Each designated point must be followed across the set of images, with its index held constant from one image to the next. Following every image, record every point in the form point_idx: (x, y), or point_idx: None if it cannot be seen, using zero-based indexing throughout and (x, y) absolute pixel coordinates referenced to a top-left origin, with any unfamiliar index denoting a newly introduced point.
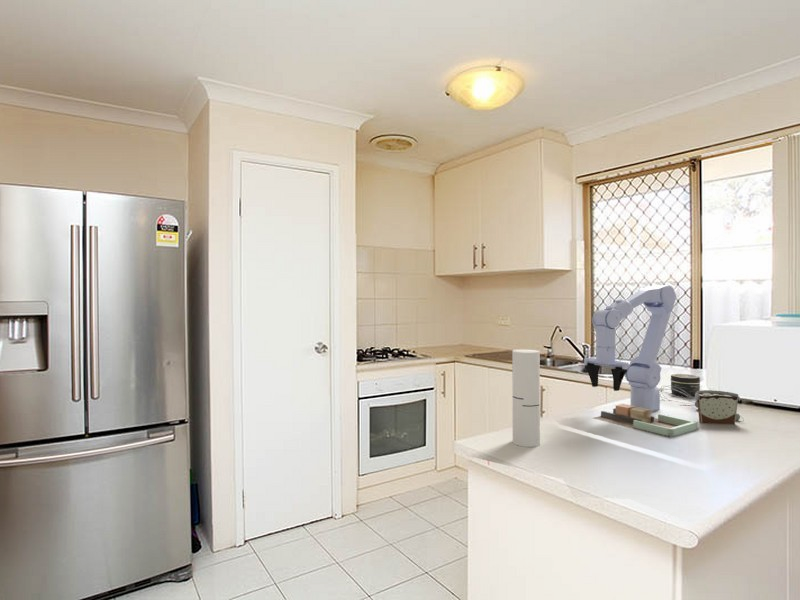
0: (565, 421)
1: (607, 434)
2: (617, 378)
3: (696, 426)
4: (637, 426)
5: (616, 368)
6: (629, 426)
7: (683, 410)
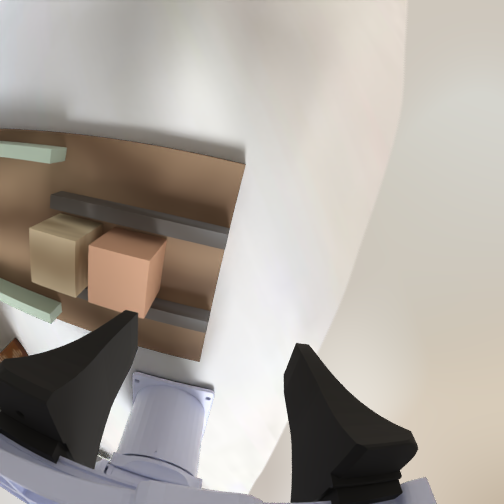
0: (335, 80)
1: (126, 27)
2: (59, 350)
3: None
4: (50, 146)
5: (44, 437)
6: (78, 145)
7: None
